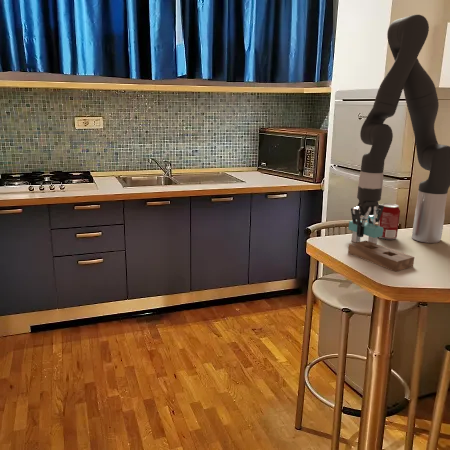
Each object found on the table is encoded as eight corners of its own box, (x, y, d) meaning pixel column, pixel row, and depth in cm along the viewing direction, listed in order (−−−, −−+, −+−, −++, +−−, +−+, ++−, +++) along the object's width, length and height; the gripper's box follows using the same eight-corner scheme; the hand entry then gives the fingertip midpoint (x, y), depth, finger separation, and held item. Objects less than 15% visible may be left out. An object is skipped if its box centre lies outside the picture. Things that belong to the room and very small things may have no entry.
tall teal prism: (355, 238, 158) (357, 219, 156) (380, 247, 149) (383, 227, 147) (347, 240, 156) (349, 221, 154) (372, 249, 147) (375, 229, 145)
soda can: (398, 241, 156) (402, 207, 153) (377, 239, 157) (381, 206, 154) (394, 235, 163) (399, 203, 159) (375, 234, 164) (379, 202, 161)
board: (365, 249, 147) (366, 240, 146) (413, 266, 133) (414, 257, 132) (347, 253, 143) (348, 244, 142) (395, 271, 128) (396, 261, 128)
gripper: (375, 182, 154) (369, 230, 158) (346, 185, 146) (341, 235, 151) (394, 185, 148) (387, 235, 152) (364, 189, 140) (358, 241, 145)
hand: (364, 235), depth 152 cm, fingers closed on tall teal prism, 4 cm apart
